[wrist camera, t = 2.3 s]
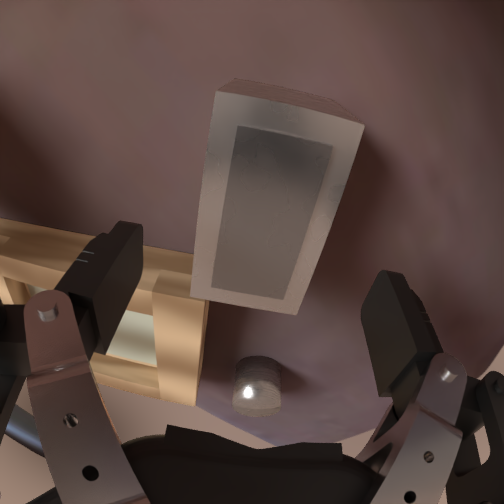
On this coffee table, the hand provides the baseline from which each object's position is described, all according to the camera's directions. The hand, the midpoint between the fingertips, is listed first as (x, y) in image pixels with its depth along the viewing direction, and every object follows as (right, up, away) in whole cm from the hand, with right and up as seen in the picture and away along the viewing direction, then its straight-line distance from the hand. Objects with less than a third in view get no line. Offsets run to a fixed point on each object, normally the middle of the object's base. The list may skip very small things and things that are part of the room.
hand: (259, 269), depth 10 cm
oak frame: (-13, -3, +13) cm, 19 cm away
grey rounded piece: (0, -10, +17) cm, 20 cm away
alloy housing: (0, +5, +7) cm, 8 cm away
